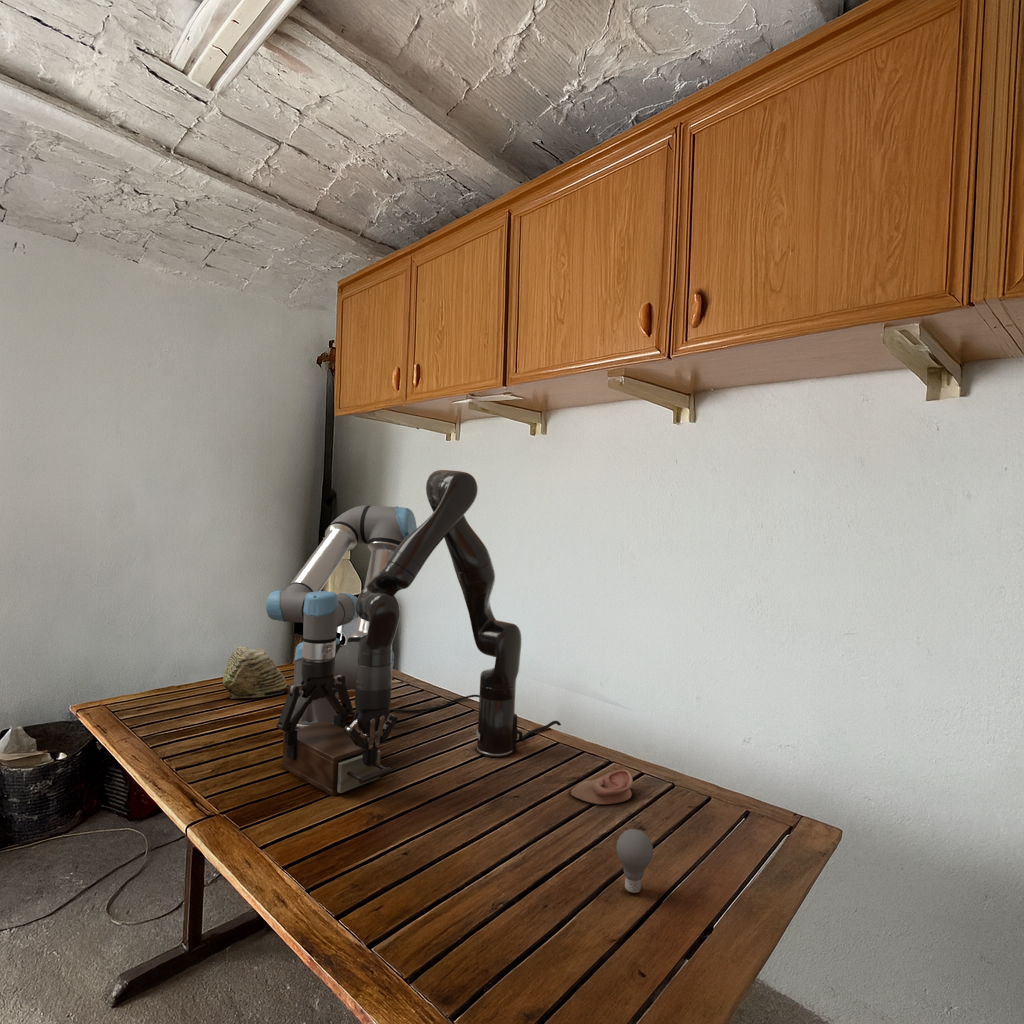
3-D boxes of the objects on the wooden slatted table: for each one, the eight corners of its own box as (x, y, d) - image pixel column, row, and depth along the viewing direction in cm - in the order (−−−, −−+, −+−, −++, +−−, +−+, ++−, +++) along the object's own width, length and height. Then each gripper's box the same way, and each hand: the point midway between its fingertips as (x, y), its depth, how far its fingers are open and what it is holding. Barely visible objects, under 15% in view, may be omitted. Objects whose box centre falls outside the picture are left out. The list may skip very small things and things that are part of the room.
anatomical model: (569, 782, 136) (575, 761, 148) (568, 800, 136) (574, 778, 148) (632, 790, 134) (633, 768, 145) (631, 809, 134) (632, 785, 145)
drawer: (395, 786, 138) (396, 758, 138) (356, 802, 130) (357, 772, 130) (331, 754, 153) (332, 729, 153) (292, 766, 145) (293, 740, 145)
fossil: (218, 695, 195) (220, 647, 195) (278, 685, 208) (279, 640, 207) (228, 703, 189) (230, 653, 188) (289, 692, 201) (290, 645, 201)
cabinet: (375, 779, 143) (377, 743, 143) (332, 796, 134) (333, 757, 134) (324, 753, 156) (326, 720, 156) (282, 767, 147) (283, 732, 147)
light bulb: (610, 879, 108) (613, 822, 108) (644, 879, 109) (647, 822, 109) (619, 902, 102) (622, 840, 102) (655, 901, 103) (658, 840, 103)
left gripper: (280, 670, 137) (276, 770, 137) (370, 653, 155) (366, 741, 155) (262, 664, 141) (258, 760, 142) (351, 647, 160) (348, 733, 160)
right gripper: (359, 694, 128) (354, 779, 128) (408, 682, 138) (405, 761, 138) (336, 685, 132) (332, 768, 133) (386, 674, 143) (382, 751, 143)
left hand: (315, 750), depth 149 cm, fingers closed on cabinet, 11 cm apart
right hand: (369, 764), depth 135 cm, fingers closed
